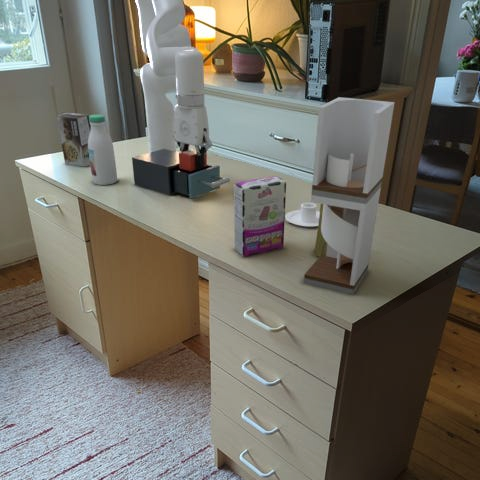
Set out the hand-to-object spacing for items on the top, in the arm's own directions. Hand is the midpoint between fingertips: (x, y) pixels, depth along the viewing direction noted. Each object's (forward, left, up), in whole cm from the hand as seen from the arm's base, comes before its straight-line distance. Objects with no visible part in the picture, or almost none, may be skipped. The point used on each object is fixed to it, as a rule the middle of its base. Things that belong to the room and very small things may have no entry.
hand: (193, 165), depth 153 cm
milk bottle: (0, -31, -8) cm, 32 cm away
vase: (+29, +46, -8) cm, 55 cm away
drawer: (0, +1, -7) cm, 7 cm away
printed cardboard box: (-15, -50, -8) cm, 52 cm away
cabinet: (-4, -11, -8) cm, 14 cm away
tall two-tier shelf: (+40, +50, -8) cm, 65 cm away
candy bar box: (+32, +30, -8) cm, 45 cm away
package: (0, 0, 0) cm, 0 cm away
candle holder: (+10, +37, -8) cm, 40 cm away
